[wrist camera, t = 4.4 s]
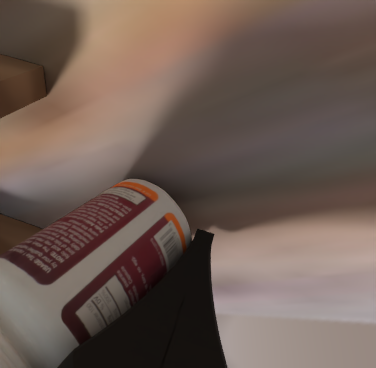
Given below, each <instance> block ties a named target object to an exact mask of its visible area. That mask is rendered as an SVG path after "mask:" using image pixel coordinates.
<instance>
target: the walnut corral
mask: <svg viewBox="0 0 376 368" xmlns="http://www.w3.org/2000/svg"><path fill="white" fill-rule="evenodd" d="M46 96H47V93H46V86H45V78H44V71H43V66H40V65H37V64H33V63H30V62H26V61H23V60H19V59H16V58H12V57H9V56H5V55H2V54H0V118H2V117H4V116H6V115H8V114H10V113H12V112H15V111H17V110H19V109H21V108H23V107H25V106H27V105H29V104H31V103H33V102H35V101H37V100H40V99H42V98H44V97H46ZM41 230H43V229H41V228H38V227H35V226H32V225H30V224H27V223H24V222H21V221H18V220H16V219H13V218H10V217H7V216H4V215H2V214H0V255H1V254H3V253H5V252H7V251H9V250H10V249H12V248H13V247H15V246H17V245H18V244H20V243H22V242H23V241H25V240H27V239H28V238H30V237H31V236H33V235H35V234H36V233H38V232H40V231H41Z"/></svg>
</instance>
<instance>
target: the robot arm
mask: <svg viewBox="0 0 376 368" xmlns="http://www.w3.org/2000/svg"><path fill="white" fill-rule="evenodd" d="M213 237H214V234H212V233H209V232H206V231H203V230H200V229H197V231H196V234H195V237H194V239H193V241H192V242H191V244H190V245H189V247H188V248H187V250H186V251H185V252H184V254H183V255H182V256H181V257H180V259H179V260H178V261H177V262H176V264H175V265H174V266H173V267H172V268H171V269H170V270H169V271H168V273H167V274H166V275H165V276H164V277H163V278H162V279H161V280H160V281H159V282H158V283H157V284H156V285H155V286H154V287H153V288H152V289H151V290H150V291H149V292H148V293H147V294H146V295H145V296H144V297H142V298H141V299H140V300H139V301H138V302H137V303H136V304H134V305H133V306H132V307H131V308H130V309H129V310H127V311H126V312H125V313H124V314H122V315H121V316H120V317H118V318H117V319H116V320H115V321H113V322H112V323H111V324H109V325H108V326H107V327H105V328H104V329H103V330H101V331H100V332H98V333H97V334H96V335H94V336H93V337H91V338H90V339H88V340H87V341H85V342H84V343H82V344H81V345H79V346H78V347H76V348H75V349H74V350H73V351H72V352H71V353H70V354H69V355H68V356H67V357H66V358H65V359H64V360H63V361H62V363H61V364H60V365H59V366H58V367H57V368H227V365H226V360H225V356H224V352H223V349H222V345H221V340H220V336H219V331H218V326H217V321H216V315H215V309H214V301H213V293H212V283H211V244H212V241H213Z"/></svg>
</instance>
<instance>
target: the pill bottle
mask: <svg viewBox="0 0 376 368" xmlns="http://www.w3.org/2000/svg"><path fill="white" fill-rule="evenodd" d="M191 242H192V238H191V231H190V228H189V224H188V222H187V219H186V217H185V215H184V214H183V212H182V211H181V209H180V208H179V206H178V205H177V204H176V202H175V201H174V200H173V199H172V198H171V197H170V196H169V195H168V194H167V193H166V192H165V191H164V190H162V189H161V188H160V187H158V186H156V185H154V184H152V183H150V182H148V181H145V180H140V179H127V180H124V181H121V182H120V183H118V184H116V185H115V186H113V187H111V188H110V189H108V190H106V191H104V192H103V193H101V194H100V195H98V196H97V197H95V198H93V199H91V200H90V201H88V202H87V203H85V204H83V205H82V206H80V207H78V208H77V209H75V210H74V211H72V212H70V213H69V214H67V215H66V216H64V217H62V218H61V219H59V220H57V221H56V222H54V223H52V224H51V225H49V226H47V227H46V228H44V229H43V230H41V231H40V232H38V233H36V234H35V235H33V236H31V237H30V238H28V239H27V240H25V241H23V242H22V243H20V244H18V245H17V246H15V247H13V248H12V249H10V250H9V251H7V252H5V253H3V254H1V255H0V368H57V367H58V366H59V365H60V364H61V363H62V361H63V360H64V359H65V358H66V357H67V356H68V355H69V354H70V353H71V352H72V351H73V350H74V349H75V348H76V347H78V346H79V345H81V344H82V343H84V342H85V341H87V340H88V339H90V338H91V337H93V336H94V335H96V334H97V333H98V332H100V331H101V330H103V329H104V328H105V327H107V326H108V325H109V324H111V323H112V322H113V321H115V320H116V319H117V318H118V317H120V316H121V315H122V314H124V313H125V312H126V311H127V310H129V309H130V308H131V307H132V306H133V305H134V304H136V303H137V302H138V301H139V300H140V299H141V298H142V297H144V296H145V295H146V294H147V293H148V292H149V291H150V290H151V289H152V288H153V287H154V286H155V285H156V284H157V283H158V282H159V281H160V280H161V279H162V278H163V277H164V276H165V275H166V274H167V273H168V271H169V270H170V269H171V268H172V267H173V266H174V265H175V264H176V262H177V261H178V260H179V259H180V257H181V256H182V255H183V254H184V252H185V251H186V250H187V248H188V247H189V245H190V244H191Z"/></svg>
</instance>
